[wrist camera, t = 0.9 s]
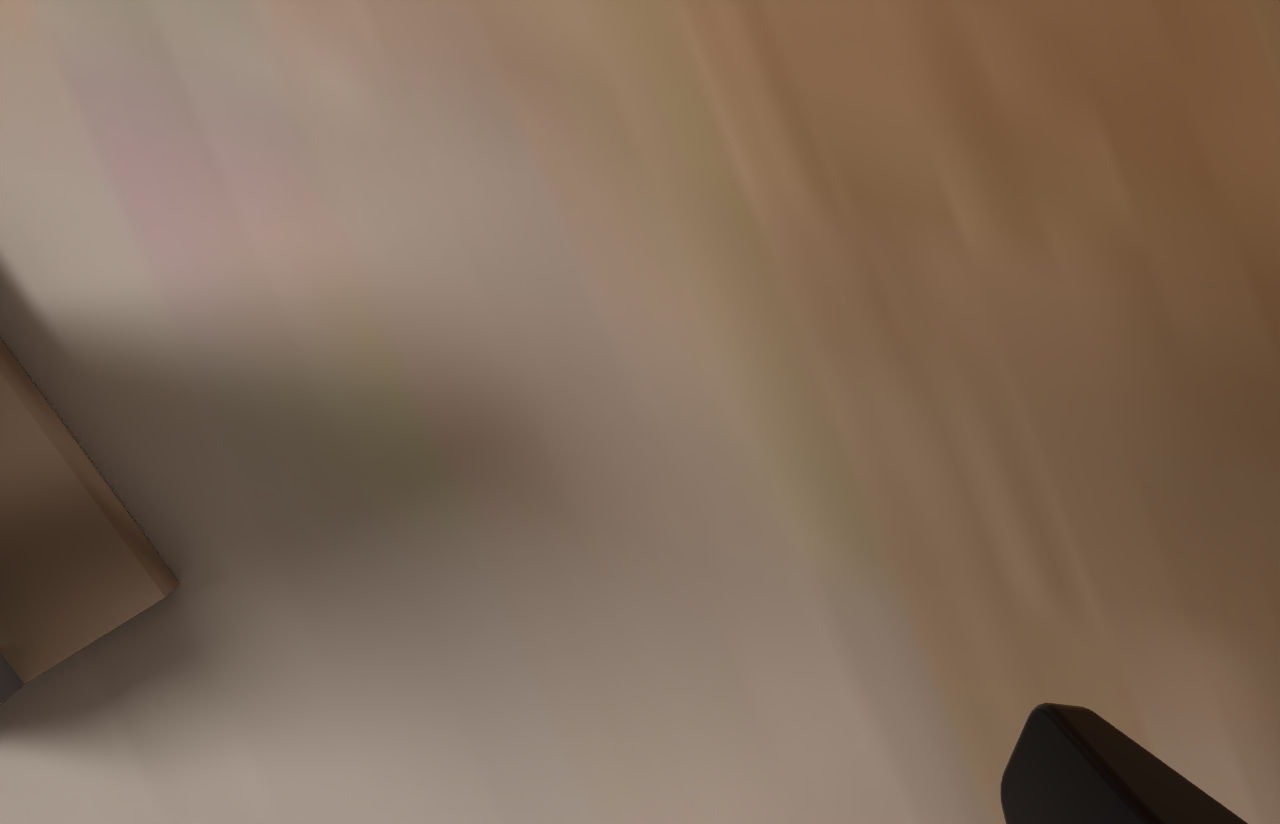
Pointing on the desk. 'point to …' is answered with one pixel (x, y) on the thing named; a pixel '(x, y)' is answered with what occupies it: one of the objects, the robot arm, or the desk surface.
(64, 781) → the desk surface
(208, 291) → the desk surface
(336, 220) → the desk surface
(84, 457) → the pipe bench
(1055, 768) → the robot arm
